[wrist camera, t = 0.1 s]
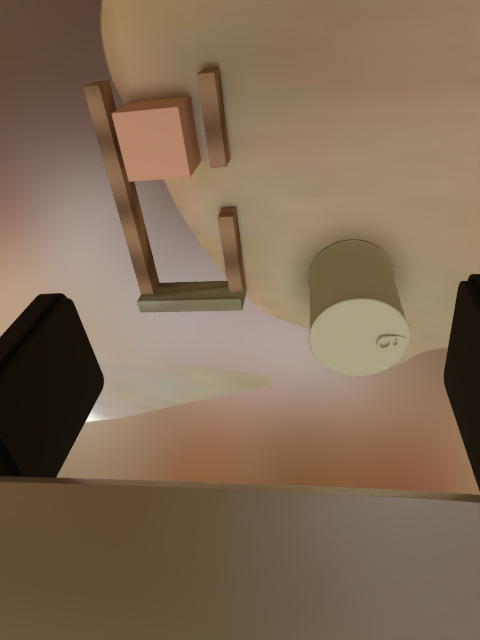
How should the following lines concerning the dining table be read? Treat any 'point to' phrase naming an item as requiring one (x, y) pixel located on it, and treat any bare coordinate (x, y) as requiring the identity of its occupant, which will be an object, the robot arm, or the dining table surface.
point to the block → (157, 138)
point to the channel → (130, 214)
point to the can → (355, 310)
